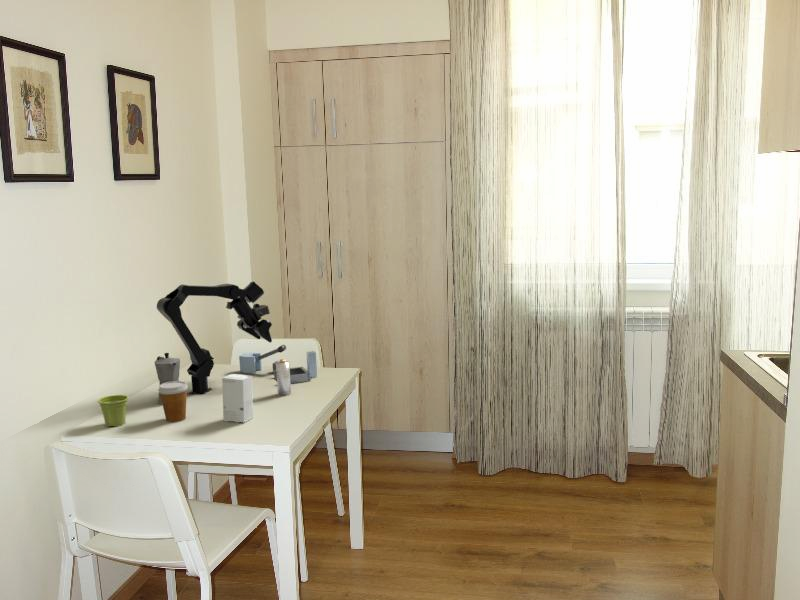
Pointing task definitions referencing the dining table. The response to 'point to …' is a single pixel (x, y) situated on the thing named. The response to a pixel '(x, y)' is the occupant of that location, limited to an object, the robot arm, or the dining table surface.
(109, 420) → the plant pot
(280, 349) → the lever
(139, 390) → the dining table surface
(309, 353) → the tray
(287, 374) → the silver metal cylinder
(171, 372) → the coffeepot
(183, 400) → the disposable coffee cup
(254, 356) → the lever frame
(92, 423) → the dining table surface
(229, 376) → the skincare box
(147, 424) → the dining table surface
